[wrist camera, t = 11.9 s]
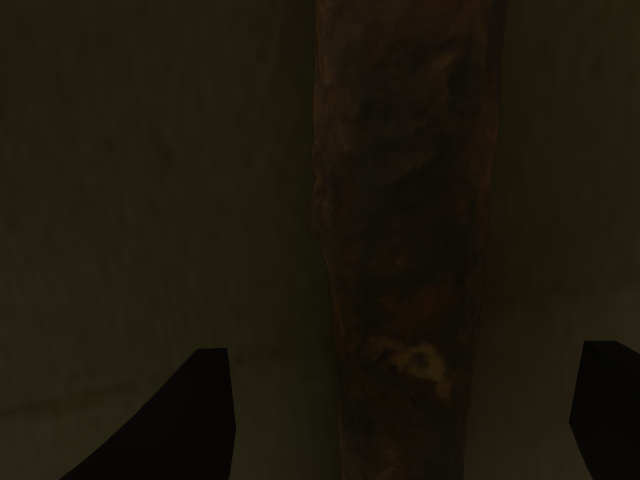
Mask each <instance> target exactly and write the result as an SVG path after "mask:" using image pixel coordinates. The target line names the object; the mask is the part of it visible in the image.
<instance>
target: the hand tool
mask: <svg viewBox="0 0 640 480" xmlns="http://www.w3.org/2000/svg"><path fill="white" fill-rule="evenodd" d="M311 2H312V3H313V5H314V7H315V33H314V57H315V83H314V90H313V107H312V115H313V127H314V138H315V141H314V142H313V144H312V171H313V172H314V173H315V182H314V188H313V193H312V197H311V201H310V204H309V207H308V210H307V219H308V224H309V229H310V234H311V237H312V238H313V240H314V241H315V243H316V244H317V245H318V246H319V247H320V248H321V251H322V254H323V256H324V259H325V262H326V265H327V268H328V273H329V296H330V303H331V311H332V326H333V343H334V352H335V366H336V385H337V404H338V416H339V455H340V471H341V480H463V468H464V451H465V439H466V435H465V426H466V418H467V415H468V411H469V408H470V404H471V383H472V373H473V364H474V359H475V354H476V348H477V339H478V331H479V319H480V307H481V297H482V287H483V276H484V266H485V257H486V248H487V237H488V222H489V213H490V204H491V193H492V179H493V165H494V156H495V149H496V143H497V134H498V121H499V106H500V88H501V70H502V54H503V38H504V27H505V16H506V3H507V0H311Z"/></svg>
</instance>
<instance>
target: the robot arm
mask: <svg viewBox="0 0 640 480" xmlns="http://www.w3.org/2000/svg"><path fill="white" fill-rule="evenodd" d="M569 423H570V426H571V429H572V431H573V434H574V437H575V439H576V442H577V445H578V447H579V450H580V452H581V454H582V457H583V459H584V462H585V464H586V466H587V469H588V471H589V472H590V474H591V476H592V478H593V480H640V354H639V353H637V352H635V351H634V350H632V349H630V348H628V347H626V346H624V345H622V344H620V343H618V342H617V341H584V344H583V350H582V355H581V360H580V366H579V371H578V376H577V382H576V387H575V392H574V398H573V403H572V408H571V414H570V419H569ZM235 432H236V422H235V414H234V405H233V396H232V387H231V379H230V370H229V361H228V353H227V348H214V349H197V350H196V351H195V352H194V353H193V354H192V355H191V356H190V357H189V358H188V359H187V360H186V361H185V362H184V363H183V364H182V365H181V366H180V368H179V369H178V370H177V371H176V372H175V373H174V374H173V375H172V376H171V377H170V378H169V379H168V381H167V382H166V383H165V384H164V385H163V386H162V387H161V388H160V389H159V390H158V391H157V392H156V393H155V394H154V395H153V396H152V397H151V398H150V399H149V400H148V401H147V402H146V403H145V404H144V405H143V406H142V408H141V409H140V410H139V411H138V412H137V413H136V414H135V415H134V416H133V417H132V418H131V419H129V420H128V421H127V422H126V423H125V424H124V425H123V426H122V427H121V428H120V429H119V430H118V431H117V432H115V433H114V434H113V435H112V436H111V437H110V438H109V439H108V440H107V441H106V442H105V443H104V444H103V445H101V446H100V447H99V448H98V449H97V450H96V451H94V452H93V453H92V454H91V455H90V456H88V457H87V458H86V459H85V460H84V461H82V462H81V463H80V464H79V465H77V466H76V467H75V468H73V469H72V470H71V471H70V472H68V473H67V474H66V475H64V476H63V477H62V478H61V479H59V480H228V479H229V475H230V469H231V462H232V455H233V448H234V440H235Z"/></svg>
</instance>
